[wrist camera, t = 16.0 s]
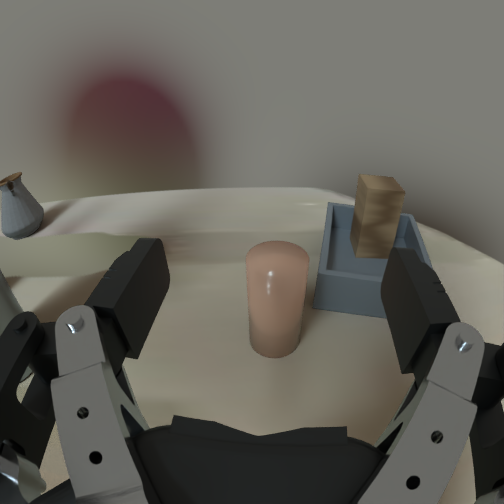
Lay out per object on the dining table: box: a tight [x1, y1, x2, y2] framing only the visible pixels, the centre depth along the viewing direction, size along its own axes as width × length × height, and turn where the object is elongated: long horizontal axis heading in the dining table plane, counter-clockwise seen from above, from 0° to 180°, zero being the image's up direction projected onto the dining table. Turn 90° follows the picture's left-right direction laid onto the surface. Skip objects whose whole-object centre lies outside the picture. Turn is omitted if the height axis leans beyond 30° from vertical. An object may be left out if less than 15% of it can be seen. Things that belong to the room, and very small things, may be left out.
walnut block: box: [350, 174, 405, 259], centre depth 37 cm, size 5×5×10 cm
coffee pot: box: [0, 172, 44, 240], centre depth 44 cm, size 21×12×15 cm, turn 47°
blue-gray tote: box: [313, 202, 433, 318], centre depth 36 cm, size 14×18×5 cm
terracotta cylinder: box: [246, 241, 309, 358], centre depth 26 cm, size 5×5×10 cm
